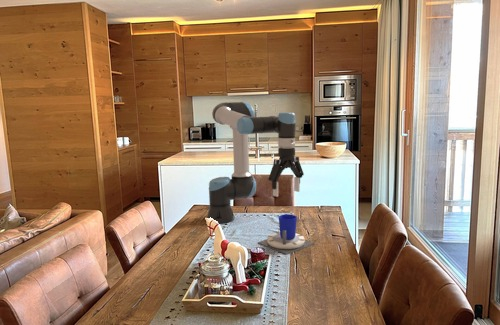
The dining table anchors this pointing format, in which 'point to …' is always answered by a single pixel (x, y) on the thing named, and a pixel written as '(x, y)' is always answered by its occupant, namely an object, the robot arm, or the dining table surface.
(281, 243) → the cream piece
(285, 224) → the mug
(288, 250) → the bearing plate
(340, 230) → the dining table surface
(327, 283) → the dining table surface
